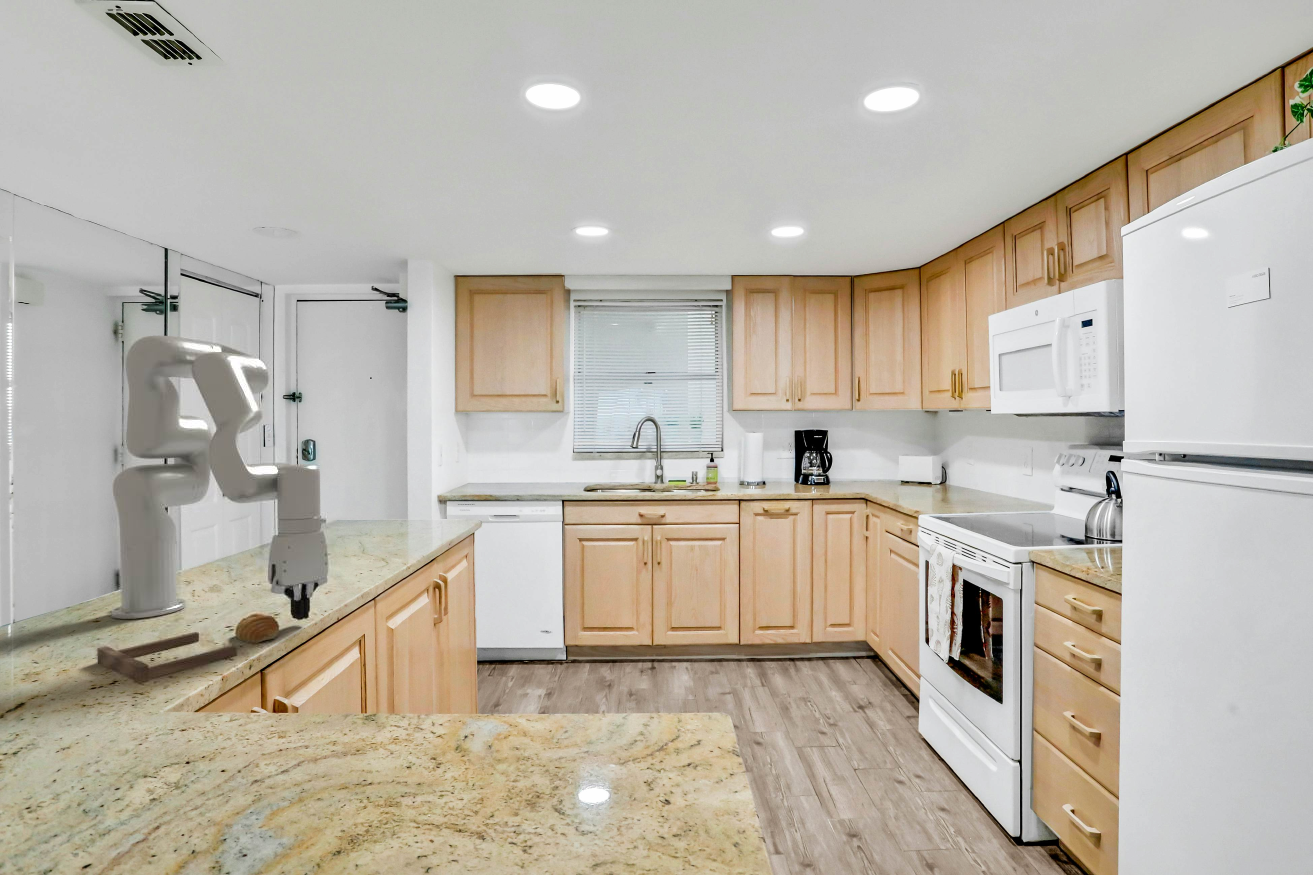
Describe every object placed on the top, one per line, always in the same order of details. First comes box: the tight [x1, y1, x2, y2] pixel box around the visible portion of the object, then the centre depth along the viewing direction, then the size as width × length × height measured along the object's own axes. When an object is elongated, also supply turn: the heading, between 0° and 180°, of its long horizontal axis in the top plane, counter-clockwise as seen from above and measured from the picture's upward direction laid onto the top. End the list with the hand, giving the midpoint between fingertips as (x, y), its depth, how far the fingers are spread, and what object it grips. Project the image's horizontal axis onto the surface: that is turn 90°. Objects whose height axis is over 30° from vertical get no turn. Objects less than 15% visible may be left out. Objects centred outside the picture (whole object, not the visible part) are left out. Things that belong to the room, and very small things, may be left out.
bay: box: [96, 631, 238, 685], centre depth 109 cm, size 17×14×2 cm
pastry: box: [234, 613, 280, 644], centre depth 121 cm, size 9×7×4 cm
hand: (300, 617), depth 128 cm, fingers closed
